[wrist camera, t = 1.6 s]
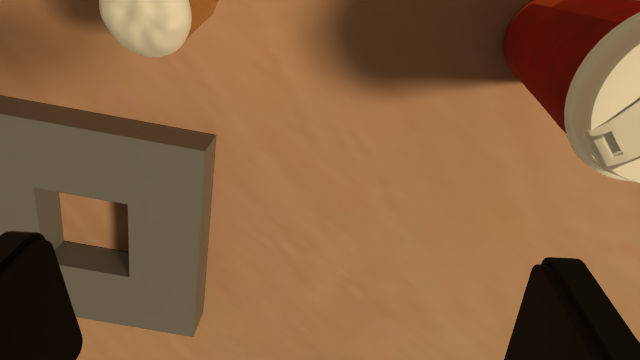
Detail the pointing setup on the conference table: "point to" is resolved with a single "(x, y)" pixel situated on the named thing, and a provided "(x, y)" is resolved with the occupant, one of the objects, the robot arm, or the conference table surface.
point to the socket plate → (122, 187)
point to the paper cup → (584, 75)
